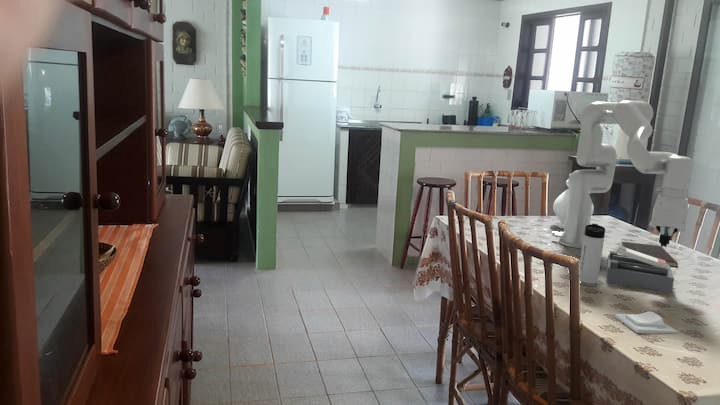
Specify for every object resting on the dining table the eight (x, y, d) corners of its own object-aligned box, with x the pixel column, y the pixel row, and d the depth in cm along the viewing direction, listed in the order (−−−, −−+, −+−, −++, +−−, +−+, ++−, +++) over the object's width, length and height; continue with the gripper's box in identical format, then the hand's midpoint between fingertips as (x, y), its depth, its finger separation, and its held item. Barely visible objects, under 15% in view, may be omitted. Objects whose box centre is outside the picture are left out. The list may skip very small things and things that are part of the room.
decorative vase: (547, 220, 279) (554, 170, 274) (585, 224, 277) (593, 173, 271) (554, 230, 262) (561, 176, 256) (595, 233, 260) (603, 179, 254)
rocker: (616, 252, 198) (618, 247, 198) (615, 249, 203) (617, 244, 202) (665, 269, 193) (667, 264, 193) (663, 265, 198) (665, 260, 197)
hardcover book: (632, 262, 221) (632, 257, 221) (620, 246, 243) (621, 241, 242) (677, 268, 218) (678, 262, 217) (661, 251, 239) (662, 245, 239)
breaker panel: (606, 281, 196) (609, 262, 195) (605, 268, 211) (608, 250, 209) (671, 292, 189) (675, 272, 187) (666, 278, 203) (669, 259, 202)
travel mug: (596, 281, 196) (605, 224, 191) (597, 287, 190) (606, 229, 185) (577, 278, 198) (585, 222, 193) (577, 284, 192) (586, 226, 187)
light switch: (681, 323, 157) (639, 321, 155) (678, 337, 158) (635, 335, 156) (656, 307, 168) (616, 305, 166) (653, 320, 168) (613, 318, 166)
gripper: (649, 192, 190) (639, 244, 194) (700, 198, 184) (689, 252, 189) (647, 188, 197) (638, 239, 201) (697, 194, 191) (686, 246, 195)
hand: (663, 245), depth 195 cm, fingers closed
